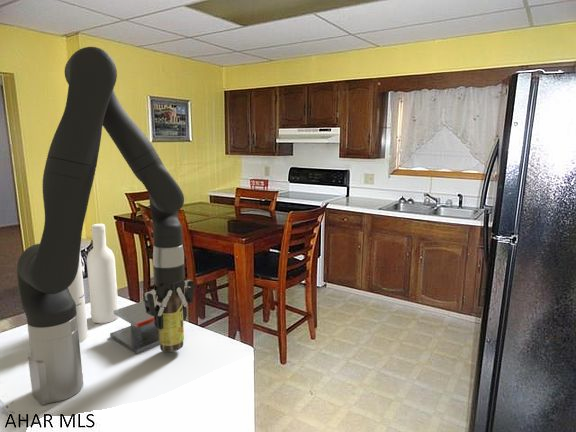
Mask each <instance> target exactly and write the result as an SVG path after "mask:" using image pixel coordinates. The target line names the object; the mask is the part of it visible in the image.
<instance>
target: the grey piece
mask: <svg viewBox="0 0 576 432" xmlns="http://www.w3.org/2000/svg"><path fill="white" fill-rule="evenodd" d="M155 300H156V298H155V299H154V305H155ZM114 314H115V315H116V316H118V318H120V319H121V320H123V321H125V322H126V323H128V324H130V325H129V326H125V327H124V328H121V329H118V330H115V331H112V332H110V333H109V337H110V338H111V339H112V340H114V341H115V342H116V343H119V344H120V345H121V346H123V347H125V348H126V349H128V350H129V351H131V352H132V353H133V354H135V355H139V354H141V353H143V352H146V351H147V350H150V349H152V348H155V347H157V346H160V343H159V329H158V328H157V327H156V326H155V325H154V316H151V315H150V314H147V313H146V309H145V303H144V300H142V301H138V302H136V303H134V304H133V303H132V304H130V305H127V306H123V307H121V308H119V309H117V310H114Z"/></svg>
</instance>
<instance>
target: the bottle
mask: <svg viewBox="0 0 576 432" xmlns="http://www.w3.org/2000/svg"><path fill="white" fill-rule="evenodd" d="M90 230H91V236H92V247H93V248H91V250H90V251H88V253H87V256H86V266H87V267H86V268H87V269H86V270H87V280H88V291H89V304H90V315H91V321H92V322H93V323H95V324H108V323H111V322H114V321H116V320H117V319H119V317H118V316H116V315H115V314H114V310H117V309H120V308H119V298H118V297H119V296H118V286H117V285H118V283H117V271H116V269H117V268H116V257H115V255H114V252H113V250H112V249H110V248H109V247H108V246H107V237H106V236H107V235H106V234H107V233H106V230H107V229H106V225H105V224H104V223H95V224H92V225H91V229H90Z"/></svg>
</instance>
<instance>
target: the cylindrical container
mask: <svg viewBox="0 0 576 432" xmlns="http://www.w3.org/2000/svg"><path fill="white" fill-rule="evenodd" d="M84 287H85V286H84V278H83V266H82V253H81V251H80V257H79V267H78V272H77V275H76V277H75V279H74V281H73V283H72V284H71V285H70V286H69V287H68V289H69V292H70V294H71V296H72V298H73V300H74V301H75V304H76V311H77V322H78V333H79V343H82V342H84V341H85V340H87V339H88V337H89V334H88V333H89V331H88V323H87V322H88V321H87V319H88V318H87V311H86V310H87V309H86V299H85V298H86V297H85V288H84Z"/></svg>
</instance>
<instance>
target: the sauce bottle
mask: <svg viewBox="0 0 576 432" xmlns="http://www.w3.org/2000/svg"><path fill="white" fill-rule="evenodd" d="M176 287H177V285H176V283H174V284H169V290H172V294H171V296H170V298H169V300H168V302H167V306H166V307H165V308H164V310H163V313H162V315H163V329H159V343H160V344H159V348H160V350H161V351H162V352H164V353H171V352H173V353H174V352H176V351H179V350H181V349H182V348H183V346H184V340H185V330H184V329H185V328H184V325H185V324H184V321H183V303H182V300H181V298H180V297H179V295H178V294H177V293H176V290H175V289H176ZM159 302H160V303H162V302H163V300H161V299H159Z"/></svg>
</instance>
